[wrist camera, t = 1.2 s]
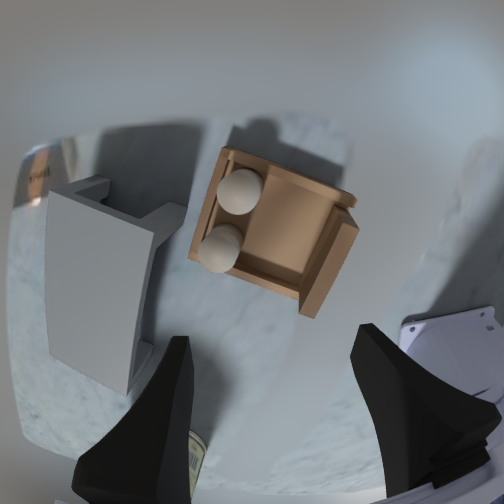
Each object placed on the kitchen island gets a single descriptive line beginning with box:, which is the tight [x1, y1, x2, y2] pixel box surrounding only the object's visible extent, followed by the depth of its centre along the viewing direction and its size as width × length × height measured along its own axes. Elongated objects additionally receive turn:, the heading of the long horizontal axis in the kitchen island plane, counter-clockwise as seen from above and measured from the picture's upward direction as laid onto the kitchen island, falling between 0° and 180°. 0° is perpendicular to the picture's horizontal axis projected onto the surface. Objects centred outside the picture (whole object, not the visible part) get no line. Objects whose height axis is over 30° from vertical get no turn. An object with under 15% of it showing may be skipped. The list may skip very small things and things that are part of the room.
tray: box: [188, 146, 359, 319], centre depth 20 cm, size 9×8×5 cm
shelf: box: [45, 175, 187, 397], centre depth 22 cm, size 8×15×6 cm, turn 161°
